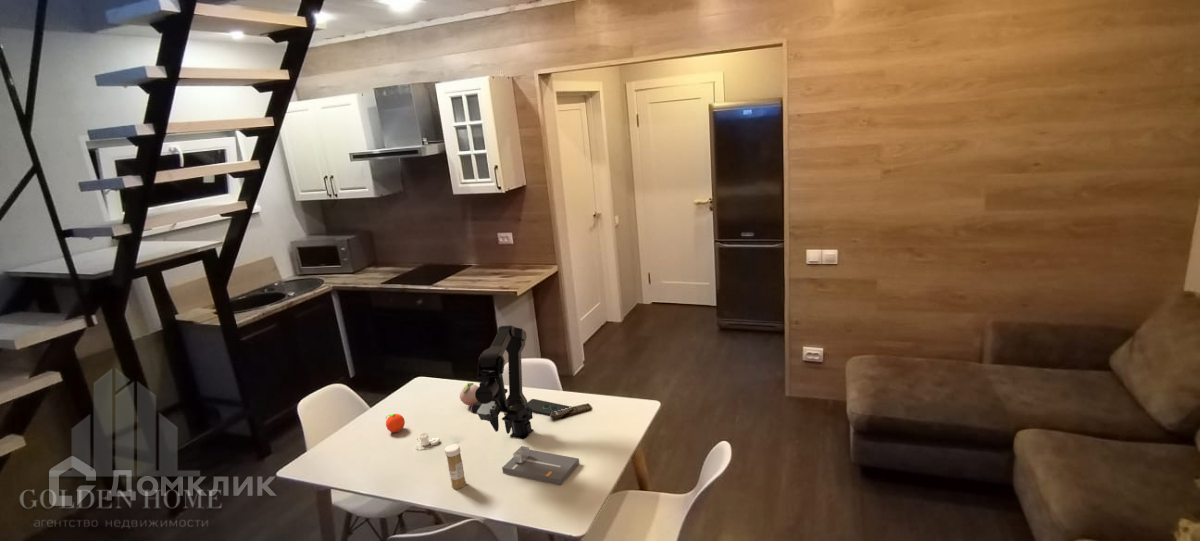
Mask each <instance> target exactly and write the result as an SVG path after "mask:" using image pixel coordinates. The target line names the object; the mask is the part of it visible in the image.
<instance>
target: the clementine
mask: <svg viewBox="0 0 1200 541" xmlns="http://www.w3.org/2000/svg"><path fill="white" fill-rule="evenodd" d="M385 420H386V422H385V426H386V428H387V430H388V431H389V432H391V433H398V432H400V431H401V430H403V429H404V426H405V423H406V422H405V418H404V417H403V415H402V414H399V413H391V414H388V415H387V416H385ZM397 431H398V432H397Z"/></svg>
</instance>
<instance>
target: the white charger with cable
mask: <svg viewBox="0 0 1200 541" xmlns="http://www.w3.org/2000/svg"><path fill="white" fill-rule="evenodd" d="M429 437H430V436H429V433H427V432H426V433H422V434H420V435H419V436H417V438H416V440H417V443H418V442H419V443H420V444H421V445H422V446H423V445H427V444H428V443H429V444H428V445H430V444H431V446H432V445H435V444H436V445H437V444H439V443H440V438H439V437H435V438H432V440H429ZM420 441H421V442H420ZM428 445H427V446H428ZM436 445H435V446H436Z"/></svg>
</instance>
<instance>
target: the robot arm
mask: <svg viewBox="0 0 1200 541" xmlns="http://www.w3.org/2000/svg"><path fill="white" fill-rule="evenodd" d="M526 342H527V332H526V330H524V329H523V328H521V327H520V328H519V327H515V326H514V325H501V326H498V328H497V333H496V336H495V338H494V339H493V341H492V343H491V345H490V347H489V348H486V349H484V350H483V351H482V352H481V354H480V355H479V357H478V359H477V368H476V369H477V370H476V379H477V380H481V381H479V386H478V389H477V390H476V392H475V397H476V399H477V400H478V401H477V402H476V403H474V404H473V405H472V406H471V412H472V414H474V415H478V418H479V419H480V421H486V422H489V423H490V424H491V427H492V428H493V430H494V432H497V433H498V432H499V427H500V422H499V415H500V413H502V414H503V415H504V416H503V417H502V418H501V420H502V421H503V422H504V427H505V431H506V434H508V435H509V434H510V433H511V434H510V435H509V436H510V437H509V438H513V439H520V440H525V439H527V437H529V436H530V435H531V434H532V433H533V432H534V429H533V428H532V424H531V423H532V422H531V420H533V418H534V417H533V413H532V409H531V408H530V407H529V406H528V405H527V402H528V400H527V398H526V397H525V395H524V394H523V373H522V371H523V369H522V368H523V367H522V351H523V350H524V348H525V346H526ZM505 352H506V353H507V358H508V359H507V360H508V364H507V365H508V388H505V382H504V381H505V380H504V377H503V374H504V371H505V363H506V360H505V357H504V354H505ZM508 389H509V390H508ZM507 393H509V394H508V396H507V395H506V394H507Z"/></svg>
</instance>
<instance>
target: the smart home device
mask: <svg viewBox="0 0 1200 541" xmlns="http://www.w3.org/2000/svg"><path fill="white" fill-rule="evenodd" d="M527 405H528V406H529V407H530V408H531V409H532V414H538V415H542V416H546V417H550V413H551V412H554V411H558V410H561V409H565V408H569V407H572V406H569V405H567V404H566V405H564V404H561V403H555V402H550V401H546V400H540V399H535V398H531V399H529V401H527Z"/></svg>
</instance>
